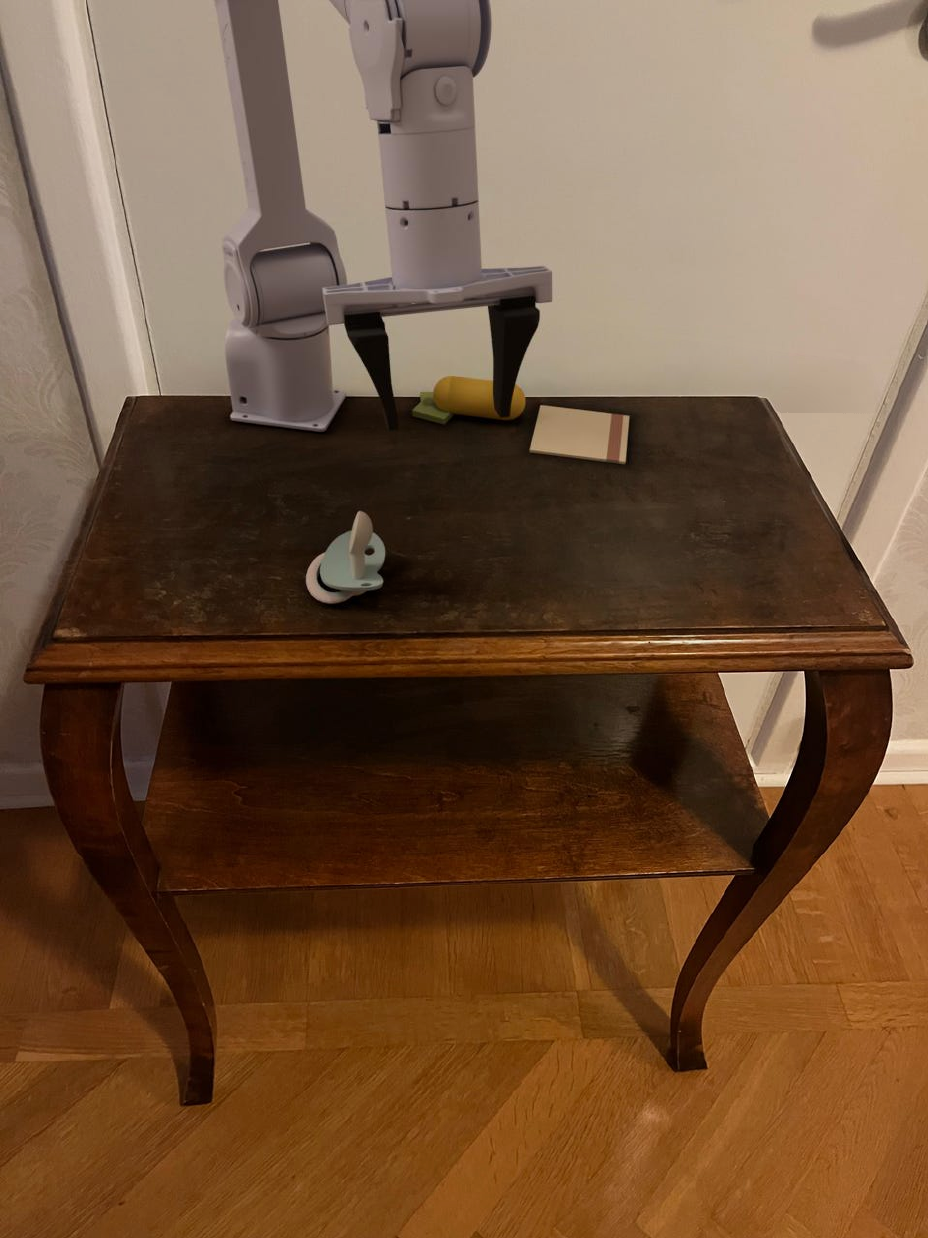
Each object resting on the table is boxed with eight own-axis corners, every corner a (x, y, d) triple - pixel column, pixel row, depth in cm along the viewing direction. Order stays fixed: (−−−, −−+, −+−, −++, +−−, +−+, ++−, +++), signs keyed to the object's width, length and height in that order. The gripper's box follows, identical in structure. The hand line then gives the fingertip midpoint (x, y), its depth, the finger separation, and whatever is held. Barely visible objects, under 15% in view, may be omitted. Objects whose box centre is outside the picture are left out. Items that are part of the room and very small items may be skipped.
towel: (529, 452, 85) (529, 449, 85) (540, 407, 92) (540, 404, 92) (625, 464, 84) (625, 461, 84) (629, 418, 91) (629, 415, 91)
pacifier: (301, 613, 67) (383, 612, 67) (291, 544, 63) (378, 543, 63) (312, 553, 72) (387, 552, 72) (303, 486, 68) (382, 486, 68)
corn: (409, 420, 89) (409, 386, 86) (422, 393, 93) (422, 360, 91) (520, 434, 88) (523, 400, 85) (527, 406, 92) (530, 373, 90)
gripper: (315, 222, 51) (346, 452, 58) (565, 200, 52) (565, 425, 60) (310, 207, 57) (339, 417, 64) (535, 188, 58) (539, 394, 66)
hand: (447, 419), depth 62 cm, fingers open, 7 cm apart
